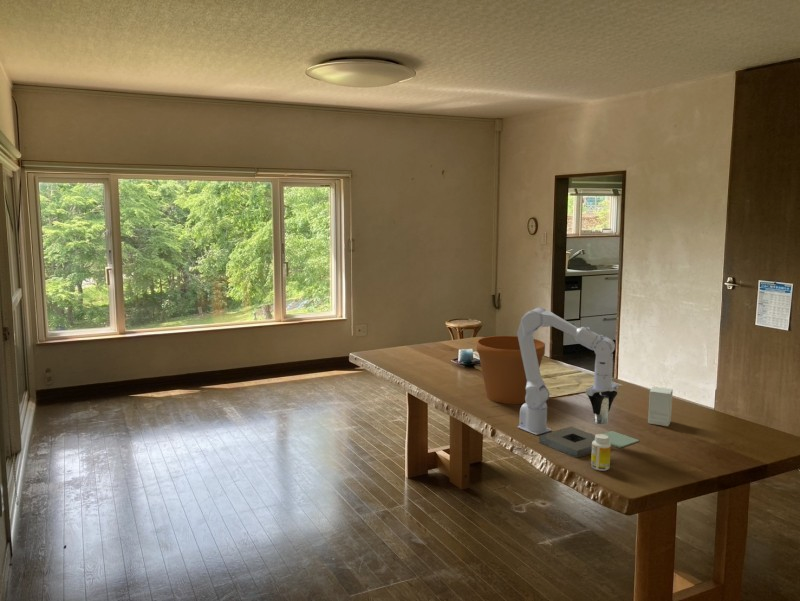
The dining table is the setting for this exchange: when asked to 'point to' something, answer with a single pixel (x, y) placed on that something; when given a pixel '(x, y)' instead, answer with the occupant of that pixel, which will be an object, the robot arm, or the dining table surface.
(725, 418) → the dining table surface
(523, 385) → the flowerpot
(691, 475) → the dining table surface
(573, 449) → the socket block
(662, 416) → the supplement box
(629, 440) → the mat
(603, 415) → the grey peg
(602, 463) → the supplement bottle
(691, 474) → the dining table surface
